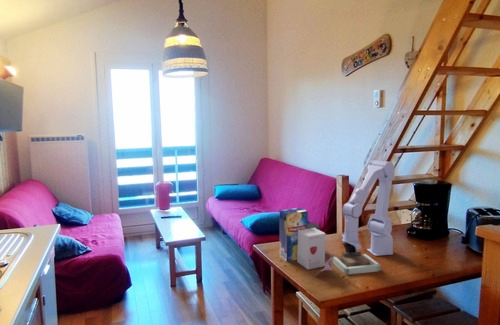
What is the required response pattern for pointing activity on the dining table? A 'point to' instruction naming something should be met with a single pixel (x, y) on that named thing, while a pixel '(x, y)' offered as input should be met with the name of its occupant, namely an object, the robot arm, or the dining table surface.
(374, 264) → the bay
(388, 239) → the robot arm
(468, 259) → the dining table surface
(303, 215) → the beverage box
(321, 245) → the supplement box
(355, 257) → the cart
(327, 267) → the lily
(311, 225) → the jar
